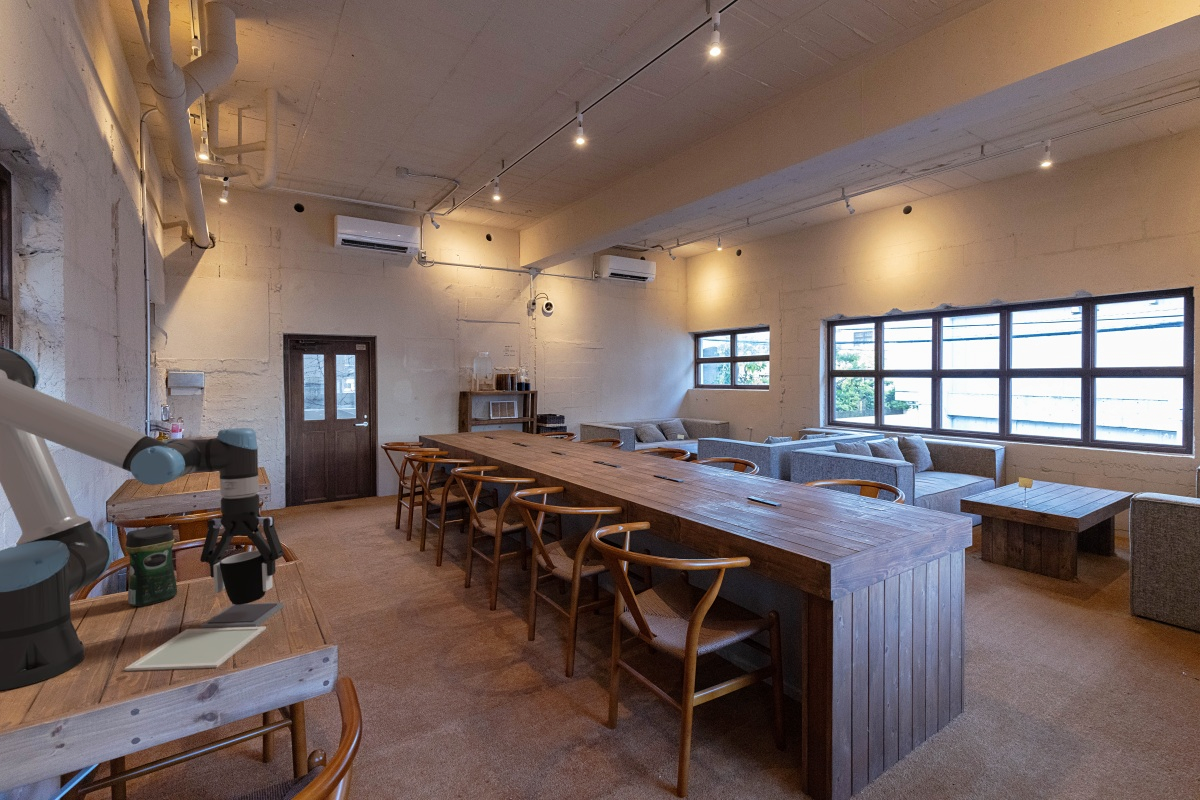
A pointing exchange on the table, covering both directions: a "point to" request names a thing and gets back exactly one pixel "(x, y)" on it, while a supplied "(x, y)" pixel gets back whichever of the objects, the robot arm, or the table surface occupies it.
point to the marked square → (197, 649)
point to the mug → (243, 577)
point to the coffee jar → (151, 565)
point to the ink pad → (243, 615)
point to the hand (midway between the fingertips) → (243, 590)
